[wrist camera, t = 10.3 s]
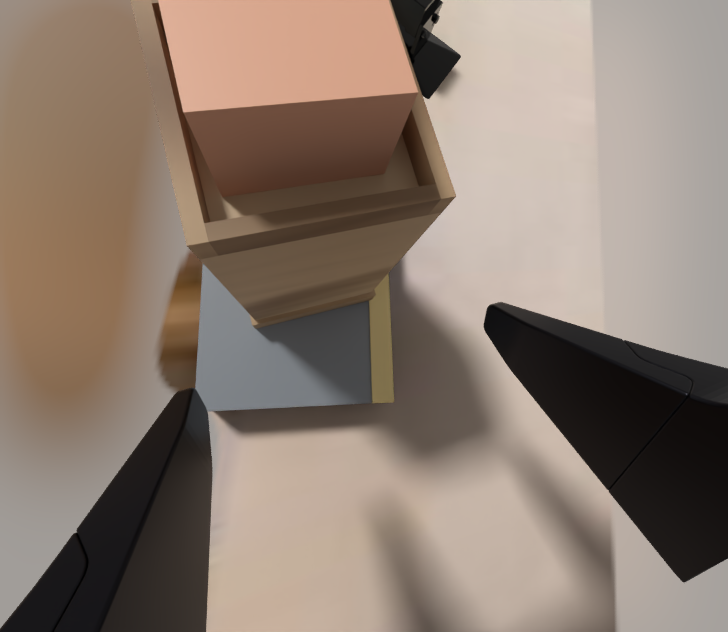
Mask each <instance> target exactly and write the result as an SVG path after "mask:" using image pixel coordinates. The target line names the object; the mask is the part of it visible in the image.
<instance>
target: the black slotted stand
mask: <svg viewBox="0 0 728 632" xmlns="http://www.w3.org/2000/svg"><path fill="white" fill-rule="evenodd" d="M390 1H391V4H392V7H393V10H394V13H395V16H396V19H397V22H398V25H399V28H400V31H401V34H402V37H403V40H404V43H405V46H406V49H407V52H408V55H409V58H410V61H411V64H412V67H413V70H414V72H415V75H416V78H417V81H418V84H419V87H420V90H421V93H422V95H423V96H424V97H425V98H427V99H429V98H430V97H431V96H432V95H433V93H434V92H435V91H436V89H437V88H438V87H439V85H440V84H441V83H442V81H443V80H444V79H445V77H446V76H447V75H448V73H449V72H450V71H451V69H452V68H453V67H454V65H455V64H456V63H457V62H458V60H459V59H460V58H461V56H460V55H459V54H458V53H457V52H455V51H454V50H453V49H452V48H450V47H449V46H448V45H446V44H445V43H444V42H442V41H441V40H440V39H438V38H437V37H436V36H434V35H433V34H432V33H431V32H432V29H433V27H434V24H436V23H437V22H438V20H439V17H440V16H439V15H438V14H439V11H440V9H441V6H442V4H443V2H442V1H441V0H390Z"/></svg>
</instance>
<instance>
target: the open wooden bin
mask: <svg viewBox="0 0 728 632" xmlns="http://www.w3.org/2000/svg"><path fill="white" fill-rule="evenodd" d="M389 3H390V6H391V9H392V12H393V15H394V18H395V21H396V25H397V28H398V31H399V34H400V37H401V40H402V43H403V46H404V49H405V53H406V56H407V59H408V62H409V65H410V68H411V71H412V74H413V77H414V80H415V84H416V87H417V90H418V94H417V97H416V99H415V101H414V104H413V106H412V108H411V111H410V113H409V116H408V118H407V120H406V123H405V125H404V128H403V130H402V132H401V135H400V137H399V140H398V142H397V144H396V147H395V149H394V152H393V154H392V156H391V159H390V161H389V164H388V166H387V168H386V171H385V173H384V174H380V175H373V176H366V177H359V178H352V179H345V180H338V181H331V182H324V183H317V184H310V185H303V186H297V187H290V188H283V189H276V190H269V191H262V192H255V193H248V194H241V195H234V196H227V197H222V196H221V194H220V191H219V189H218V187H217V185H216V183H215V181H214V178H213V176H212V174H211V172H210V170H209V167H208V165H207V163H206V161H205V159H204V157H203V154H202V152H201V150H200V148H199V146H198V143H197V141H196V139H195V137H194V135H193V132H192V130H191V128H190V126H189V124H188V122H187V119H186V117H185V115H184V113H183V109H182V104H181V100H180V96H179V91H178V87H177V82H176V78H175V73H174V69H173V64H172V60H171V56H170V51H169V47H168V42H167V38H166V33H165V29H164V24H163V20H162V16H161V11H160V7H159V2H158V0H131V4H132V8H133V13H134V17H135V22H136V26H137V30H138V35H139V39H140V44H141V48H142V52H143V57H144V61H145V65H146V69H147V73H148V78H149V83H150V87H151V91H152V96H153V100H154V105H155V109H156V113H157V117H158V122H159V126H160V130H161V135H162V139H163V144H164V147H165V152H166V157H167V161H168V165H169V170H170V174H171V178H172V183H173V187H174V191H175V196H176V200H177V204H178V209H179V213H180V218H181V222H182V226H183V231H184V235H185V239H186V243H187V246H188V247H189V249H190V250H191V251H192V252H193V253H194V254H195V255H196V256H197V257H198V258H199V259H200V261H201V262H202V263H203V264H204V265H205V266H206V267H207V268H208V269H209V270H210V271H211V273H212V274H213V275H214V276H215V277H216V278H217V279H218V280H219V281H220V282H221V283H222V285H223V286H224V287H225V288H226V289H227V290H228V291H229V292H230V293H231V294H232V295H233V297H234V298H235V299H236V300H237V301H238V302H239V303H240V304H241V305H242V306H243V308H244V309H245V310H246V311H247V312H248V313H249V314H250V318H251V322H252V326H253V327H254V328H255V329H257V328H261V327H265V326H269V325H273V324H277V323H281V322H285V321H289V320H293V319H297V318H301V317H305V316H309V315H313V314H317V313H321V312H325V311H329V310H333V309H337V308H341V307H345V306H349V305H353V304H357V303H361V302H365V301H369V300H372V299H373V298H374V297H375V296H376V293H375V290H374V289H375V288H376V287H377V285H378V284H379V283H380V282H381V281H382V280H383V279H384V277H385V276H386V275H387V274H388V273H389V272H390V271H391V270H392V268H393V267H394V266H395V265H396V264H397V263H398V262H399V260H400V259H401V258H402V257H403V256H404V255H405V254H406V253H407V251H408V250H409V249H410V248H411V247H412V246H413V245H414V243H415V242H416V241H417V240H418V239H419V238H420V237H421V236H422V234H423V233H424V232H425V231H426V230H427V229H428V228H429V226H430V225H431V224H432V223H433V222H434V221H435V220H436V218H437V217H438V216H439V215H440V214H441V213H442V212H443V211H444V209H445V208H446V207H447V206H448V205H449V204H450V203H451V201H452V200H453V199H454V198H455V197H456V194H455V191H454V188H453V185H452V183H451V180H450V177H449V174H448V171H447V168H446V165H445V162H444V159H443V156H442V153H441V150H440V147H439V144H438V141H437V138H436V135H435V132H434V129H433V126H432V123H431V120H430V117H429V114H428V111H427V108H426V105H425V102H424V99H423V96H422V93H421V90H420V87H419V84H418V81H417V78H416V75H415V72H414V70H413V67H412V64H411V61H410V58H409V55H408V52H407V49H406V46H405V43H404V40H403V37H402V34H401V31H400V28H399V25H398V22H397V19H396V16H395V13H394V10H393V7H392V4H391V1H390V0H389Z"/></svg>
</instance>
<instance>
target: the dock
mask: <svg viewBox="0 0 728 632" xmlns="http://www.w3.org/2000/svg"><path fill="white" fill-rule="evenodd" d="M374 290H375V293H376V296H375V297H374V298H373V299H372V300H369V301H365V302H361V303H357V304H353V305H349V306H345V307H341V308H337V309H333V310H329V311H325V312H321V313H317V314H313V315H309V316H305V317H301V318H297V319H293V320H289V321H285V322H281V323H277V324H273V325H269V326H265V327H261V328H257V329H255V328H254V327H253V326H252V322H251V318H250V314H249V313H248V312H247V311H246V310H245V309H244V308H243V306H242V305H241V304H240V303H239V302H238V301H237V300H236V299H235V298H234V297H233V295H232V294H231V293H230V292H229V291H228V290H227V289H226V288H225V287H224V286H223V285H222V283H221V282H220V281H219V280H218V279H217V278H216V277H215V276H214V275H213V274H212V273H211V271H210V270H209V269H208V268H207V267H206V266H205V265H204V264H203V271H202V288H201V304H200V321H199V338H198V355H197V372H196V390H197V392H198V394H199V396H200V397H201V399H202V401H203V403H204V405H205V406H206V409H207V411H225V410H245V409H266V408H286V407H306V406H326V405H346V404H367V403H391V402H394V387H393V363H392V339H391V316H390V292H389V273H388V274H387V275H386V276H385V277H384V279H383V280H382V281H381V282H380V283H379V284H378V285H377V287H376V288H375V289H374Z"/></svg>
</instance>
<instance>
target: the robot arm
mask: <svg viewBox="0 0 728 632" xmlns="http://www.w3.org/2000/svg"><path fill="white" fill-rule="evenodd" d="M484 330H485V332H486V334H487V335H488V337H489V338H490V340H491V341H492V343H493V344H494V346H495V347H496V349H497V350H498V352H499V353H500V355H501V357H502V358H503V360H504V361H505V363H506V364H507V365H508V367H509V368H510V370H511V371H512V372H513V374H514V375H515V376H516V377H517V378H518V380H519V381H520V382H521V383H522V385H523V386H524V387H525V388H526V390H527V391H528V392H529V393H530V395H531V396H532V397H533V398H534V400H535V401H536V402H537V403H538V404H539V406H540V407H541V408H542V409H543V411H544V412H545V413H546V414H547V416H548V417H549V418H550V419H551V421H552V422H553V423H554V424H555V425H556V427H557V428H558V429H559V430H560V432H561V433H562V434H563V435H564V437H565V438H566V439H567V440H568V442H569V443H570V444H571V445H572V447H573V448H574V449H575V450H576V451H577V453H578V454H579V455H580V456H581V458H582V459H583V460H584V461H585V463H586V464H587V465H588V466H589V468H590V469H591V470H592V471H593V473H594V474H595V475H596V476H597V477H598V479H599V480H600V481H601V482H602V484H603V485H604V486H605V487H606V489H607V490H609V493H610V494H611V495H612V496H613V498H614V499H615V500H616V501H617V502H618V504H619V505H620V506H621V507H622V509H623V510H624V511H625V512H626V514H627V515H628V516H629V517H630V518H631V520H632V521H633V522H634V524H635V525H636V526H637V527H638V529H639V530H640V531H641V532H642V533H643V535H644V536H645V537H646V538H647V540H648V541H649V542H650V543H651V545H652V546H653V547H654V548H655V550H657V552H658V553H659V555H660V556H661V557H662V558H663V559H664V561H665V562H666V563H667V564H668V566H669V567H670V568H671V569H672V570H673V572H674V573H675V574H676V575H677V576H678V577H679V578H680V580H681V581H682V582H686V581H688V580H690V579H692V578H694V577H695V576H697V575H699V574H701V573H702V572H704V571H706V570H708V569H710V568H711V567H713V566H715V565H717V564H719V563H720V562H722V561H724V560H726V559H728V368H724V367H720V366H716V365H712V364H708V363H704V362H700V361H697V360H693V359H689V358H685V357H681V356H678V355H674V354H670V353H666V352H663V351H659V350H656V349H652V348H649V347H646V346H642V345H639V344H636V343H632V342H629V341H626V340H624V341H623V340H622V339H619V338H616V337H613V336H610V335H606V334H603V333H600V332H597V331H593V330H590V329H587V328H584V327H580V326H577V325H574V324H571V323H567V322H564V321H561V320H558V319H555V318H551V317H548V316H545V315H542V314H538V313H535V312H532V311H529V310H525V309H522V308H519V307H516V306H512V305H509V304H506V303H503V302H498V303H494V304H491V305H489V306H488V308H487V311H486V316H485V321H484ZM211 496H212V456H211V445H210V433H209V421H208V413H207V409H206V406H205V405H204V403H203V401H202V399H201V397H200V396H199V394H198V392H197V390H196V389H195V388H188V389H185V390H181V391H178V392H177V393H176V394H175V395H174V396H173V397H172V399H171V400H170V402H169V403H168V404H167V406H166V407H165V408H164V410H163V411H162V413H161V414H160V415H159V417H158V418H157V419H156V421H155V422H154V424H153V425H152V427H151V428H150V429H149V430H148V432H147V433H146V435H145V436H144V437H143V439H142V440H141V441H140V443H139V444H138V446H137V447H136V448H135V450H134V451H133V452H132V454H131V455H130V457H129V458H128V459H127V461H126V462H125V464H124V465H123V466H122V468H121V469H120V470H119V472H118V473H117V475H116V476H115V477H114V479H113V480H112V481H111V483H110V484H109V486H108V487H107V488H106V490H105V491H104V492H103V494H102V495H101V497H100V498H99V499H98V501H97V502H96V503H95V505H94V506H93V508H92V509H91V510H90V512H89V513H88V515H87V516H86V517H85V519H84V520H83V521H82V523H81V524H80V526H79V527H78V528H77V533H74V534H73V535H72V536H71V538H70V539H69V540H68V542H67V543H66V545H65V546H64V547H63V549H62V550H61V551H60V553H59V554H58V555H57V557H56V558H55V560H54V561H53V562H52V563H51V565H50V566H49V567H48V569H47V570H46V571H45V573H44V574H43V575H42V577H41V578H40V579H39V581H38V582H37V583H36V585H35V586H34V587H33V589H32V590H31V591H30V592H29V593H28V595H27V596H26V597H25V598H24V600H23V601H22V602H21V603H20V605H19V606H18V607H17V609H16V610H15V611H14V612H13V613H12V615H11V616H10V617H9V618H8V620H7V621H6V622H5V623H4V625H3V626H2V627H1V628H0V632H206V619H207V594H208V570H209V545H210V521H211Z"/></svg>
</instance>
